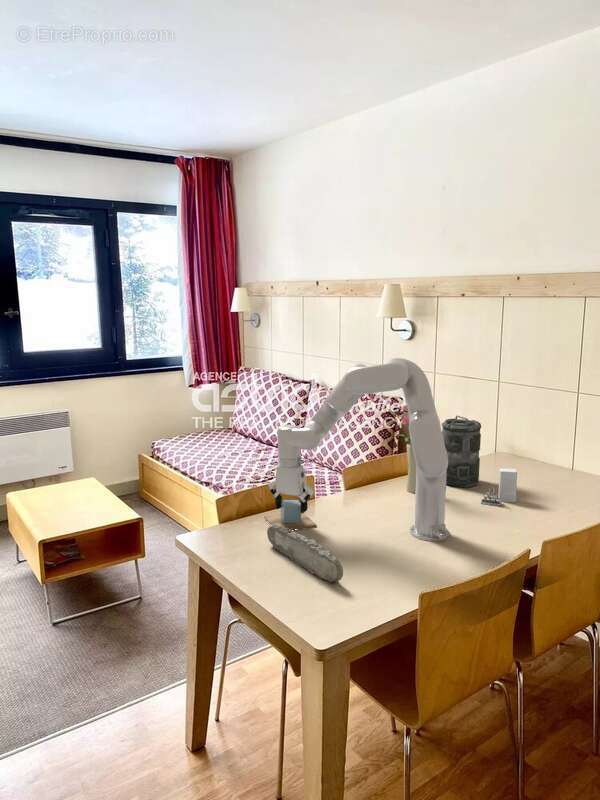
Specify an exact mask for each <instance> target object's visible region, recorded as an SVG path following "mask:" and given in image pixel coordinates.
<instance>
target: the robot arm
mask: <svg viewBox="0 0 600 800" xmlns="http://www.w3.org/2000/svg"><path fill="white" fill-rule="evenodd" d="M400 389H401V390H402V392H403V395H404V401H405V405H406V406H407V409H408V410H407V412H408V413H407V414H408V416H409V425H408V428H409V430H408V434H410V435H409V440H410V439H411V440H410V444H411V443H412V447H413V452H414V456H415V460H416V493H415V499H414V500H415V501H414V503H415V505H414V524H413V525H412V526H410V528H409V534H410V535H411V536H412V537H414V538H415V539H418V540H421V541H426V542H440V541H444V540H447V539H448V538H449V537H450V532H449V529H448V528H447V527H446V524H445V521H446V520H445V519H446V516H445V515H446V495H447V494H446V492H447V485H446V470H447V467H448V455H447V450H446V448H445V444H444V440H443V435H442V425H441V421H440V418H439V416H438V413H437V408H436V406H435V400H434V397H433V392H432V388H431V385H430V382H429V380H428V376H427V375H426V373H425V372H424V371H423V369H422V368H421V367H420V366H419V365H418V364H417V363H415V362H413V361H411V360H409V359H406V358H401V357H394V358H391V359H389V360H388V361H386V362H385V363H381V364H376V365H366V364H363V363H357V364H354V365H352V366H351V367H349V369H348V370H347V371H346V373H345V374H344V375H343V377H342V378H341V379H340V380H339V381H338V383H337V384H336V385H334V387H333V388H332V389H331V391H330V392H329V394H327V396H326V398H325V399H324V401H323V404H322V405H321V406H320V407H319V409H318V410H317V411H316V412H315V414H314V415H313V417H312V418H311V419H310V420H309V421H308V423H307V424H305V426H304V427H302V428H300V427H299V426H297V425H295V424H283V425H281V426H279V427H278V428H277V431H276V433H277V434H276V435H277V455H278V457H277V459H278V464H277V466H276V470H275V480H273V481H271V482H269V483H268V484H267V486H268V488H269V490H270V493H271V494H272V495H273V498H274V502H275V509H276V510H278V509H281V500H283V495H288V496H294V497H295V496H296V497H299V499H300V500H301V501H300V504H301V513H304V514H305V513H306V511H308V509H309V508H308V500H309V499H310V498H311V497H312V496H313V493H314V492H315V489H314V488H313V487H311V486H310V485H308V484H307V476H306V470H305V468H304V465H303V464H304V463H305V460H304V459H302V455H301V450H305V451H313V450H315V449H317V448H318V447H319V446H320V444H321V443H322V442H323V440H324V438H325V437H326V436H327V435H328V434H329V433H330V431H331V430H332V429H333V427H334V426H335V425H336V424H337V423H338V421H340V419H341V418H343V417H344V416H346V415H347V414H348V413H349V412H350V411H351V410H352V408H353V407H354V405H355V404H356V403H357V402H358V401H359V399H361V397H362V396H363V395H368V394H377V393H383V392H392V391H396V390H400ZM306 492H307V493H306Z"/></svg>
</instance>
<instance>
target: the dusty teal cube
mask: <svg viewBox="0 0 600 800" xmlns="http://www.w3.org/2000/svg"><path fill="white" fill-rule="evenodd" d="M279 514H280V517H281V519H282V522H283V523H301V501H299V499H282V500H281V507H280V513H279Z"/></svg>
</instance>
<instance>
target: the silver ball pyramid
mask: <svg viewBox="0 0 600 800" xmlns="http://www.w3.org/2000/svg"><path fill="white" fill-rule="evenodd" d="M488 490H489V492H486V495H484V496H483V498H481V500H480V504H481V505H488V506H494V507H501V506H502V503H503V502H502V501H501V500H500V498H499V497H498V493H494V492H491V491H495V487H494V485H491V488H489V489H488Z"/></svg>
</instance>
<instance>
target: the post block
mask: <svg viewBox="0 0 600 800" xmlns="http://www.w3.org/2000/svg"><path fill="white" fill-rule="evenodd" d="M263 518H265V519H266V520H267V521H268V522H269V523H270V524H271V525H282V526H283V527H285V528H287V529H290V530H295V529H301V530H304V529H303V528H307V529H311V527H313V528H317V526H318V525H317V524H316V523H315V522H314V521H313V520H312V519H311V518H310V517H309V516H308V515H306V514H305V512H304V513H301V523H283V522H282V519H281V517H280V513H279V514H273V515H272V514H271V515H265V516H264V517H263ZM265 519H264V520H265ZM266 520H265V521H266ZM267 521H266V522H267ZM268 522H267V523H268ZM269 523H268V524H269ZM270 524H269V525H270ZM271 525H270V526H271ZM295 531H296V530H295Z"/></svg>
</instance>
